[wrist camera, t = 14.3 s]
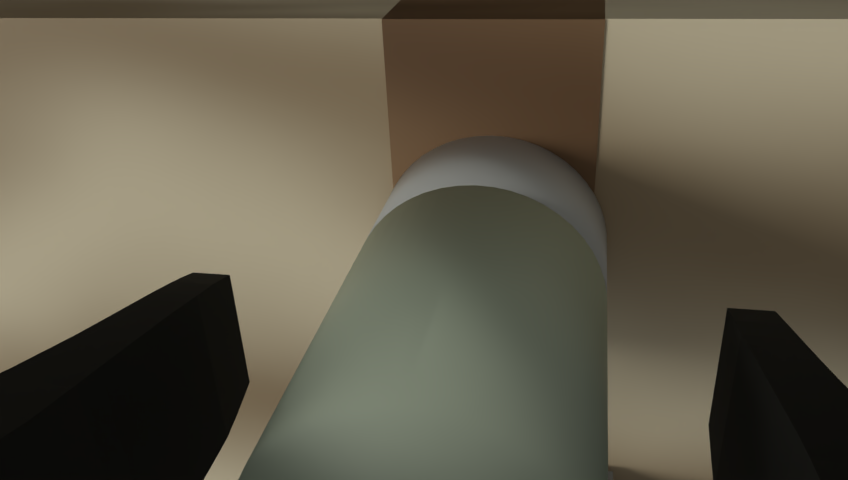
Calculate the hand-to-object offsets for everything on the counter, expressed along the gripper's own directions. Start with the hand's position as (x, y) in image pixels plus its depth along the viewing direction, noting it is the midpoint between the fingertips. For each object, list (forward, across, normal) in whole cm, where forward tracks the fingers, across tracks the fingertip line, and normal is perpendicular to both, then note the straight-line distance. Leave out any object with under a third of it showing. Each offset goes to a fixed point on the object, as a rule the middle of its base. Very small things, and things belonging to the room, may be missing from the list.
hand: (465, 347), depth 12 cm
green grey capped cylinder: (+3, 0, 0) cm, 3 cm away
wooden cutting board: (+5, +4, +5) cm, 8 cm away
